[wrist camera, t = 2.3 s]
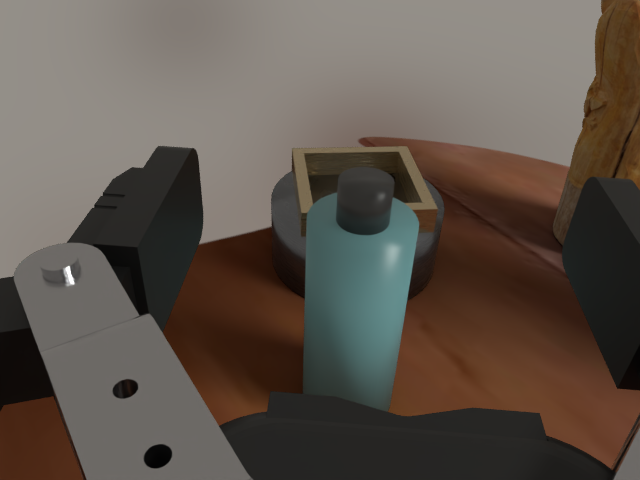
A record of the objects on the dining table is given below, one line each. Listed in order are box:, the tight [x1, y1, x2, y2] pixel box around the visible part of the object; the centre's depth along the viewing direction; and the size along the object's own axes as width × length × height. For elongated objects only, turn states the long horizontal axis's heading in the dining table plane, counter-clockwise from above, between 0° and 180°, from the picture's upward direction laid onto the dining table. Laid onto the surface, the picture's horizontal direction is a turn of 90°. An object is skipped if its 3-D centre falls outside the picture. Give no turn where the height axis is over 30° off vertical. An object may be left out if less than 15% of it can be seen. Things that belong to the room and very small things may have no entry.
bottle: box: [303, 167, 419, 412], centre depth 29 cm, size 5×5×14 cm
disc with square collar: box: [271, 146, 444, 301], centre depth 42 cm, size 12×12×7 cm
